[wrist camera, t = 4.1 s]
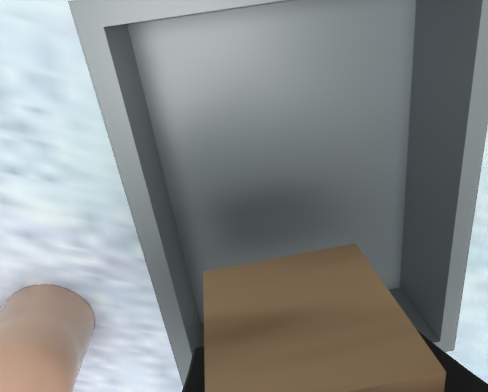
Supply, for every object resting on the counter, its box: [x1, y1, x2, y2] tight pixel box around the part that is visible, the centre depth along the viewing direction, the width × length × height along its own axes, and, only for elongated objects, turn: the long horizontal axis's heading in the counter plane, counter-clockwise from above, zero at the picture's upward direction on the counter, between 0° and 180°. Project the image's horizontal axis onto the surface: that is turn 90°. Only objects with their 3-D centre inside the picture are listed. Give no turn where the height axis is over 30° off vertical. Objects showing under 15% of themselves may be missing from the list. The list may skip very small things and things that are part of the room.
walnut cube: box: [203, 243, 446, 392], centre depth 11 cm, size 5×5×5 cm
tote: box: [68, 0, 488, 387], centre depth 17 cm, size 18×14×5 cm
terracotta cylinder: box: [0, 285, 95, 392], centre depth 19 cm, size 5×5×7 cm
